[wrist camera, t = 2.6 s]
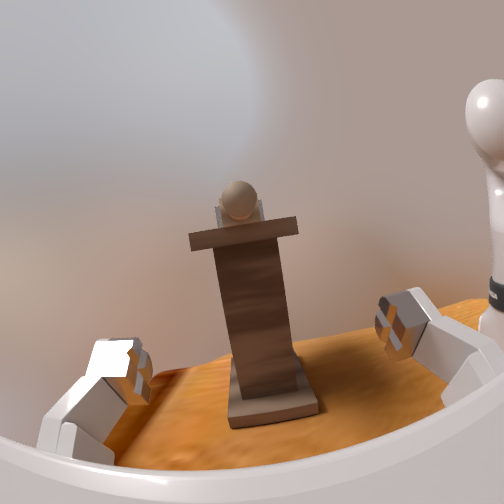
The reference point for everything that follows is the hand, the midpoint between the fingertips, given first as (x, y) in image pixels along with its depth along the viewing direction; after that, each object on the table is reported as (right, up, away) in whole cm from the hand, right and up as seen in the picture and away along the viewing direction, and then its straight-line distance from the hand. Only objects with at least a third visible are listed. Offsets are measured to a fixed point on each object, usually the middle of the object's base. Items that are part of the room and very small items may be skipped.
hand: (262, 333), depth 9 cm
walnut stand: (+2, -19, +34) cm, 39 cm away
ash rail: (-2, +6, +24) cm, 25 cm away
